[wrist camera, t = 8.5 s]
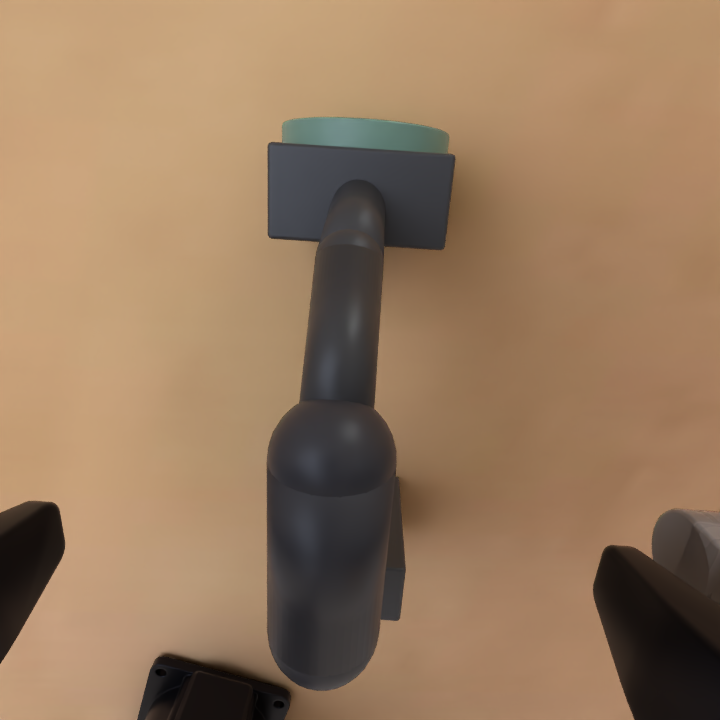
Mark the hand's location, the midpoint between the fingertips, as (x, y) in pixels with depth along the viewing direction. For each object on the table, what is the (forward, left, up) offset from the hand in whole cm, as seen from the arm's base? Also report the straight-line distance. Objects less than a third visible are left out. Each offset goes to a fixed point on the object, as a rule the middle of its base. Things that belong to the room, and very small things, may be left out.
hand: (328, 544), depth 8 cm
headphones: (0, 0, -9) cm, 9 cm away
